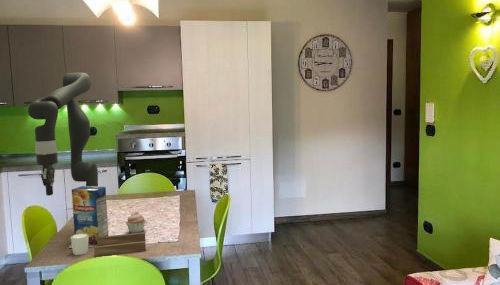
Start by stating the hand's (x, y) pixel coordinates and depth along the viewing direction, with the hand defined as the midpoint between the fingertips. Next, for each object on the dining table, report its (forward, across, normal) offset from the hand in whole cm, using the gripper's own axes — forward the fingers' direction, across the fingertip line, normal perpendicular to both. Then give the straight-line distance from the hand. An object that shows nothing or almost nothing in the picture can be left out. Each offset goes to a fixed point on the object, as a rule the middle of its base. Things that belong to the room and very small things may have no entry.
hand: (49, 194), depth 159 cm
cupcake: (+25, -20, +32) cm, 45 cm away
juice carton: (+25, -13, +13) cm, 31 cm away
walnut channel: (+25, 0, +26) cm, 36 cm away
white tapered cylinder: (+25, 0, +10) cm, 27 cm away
